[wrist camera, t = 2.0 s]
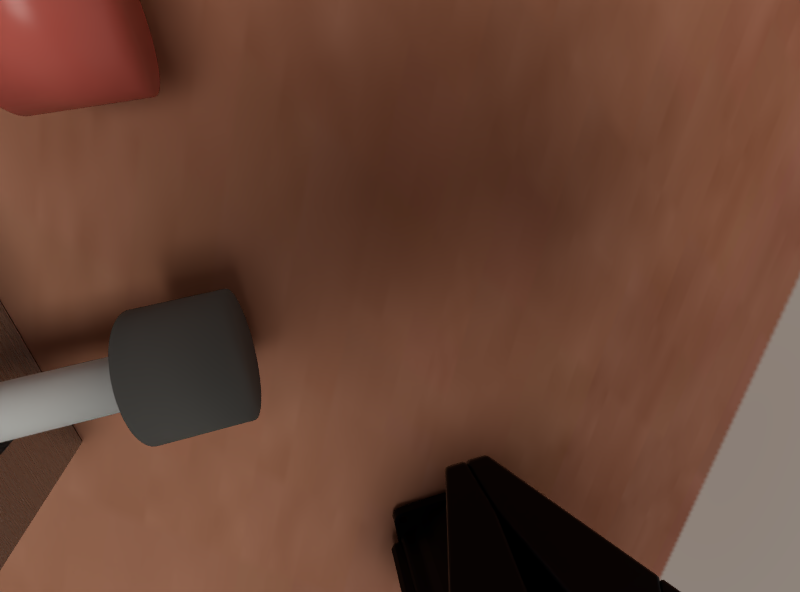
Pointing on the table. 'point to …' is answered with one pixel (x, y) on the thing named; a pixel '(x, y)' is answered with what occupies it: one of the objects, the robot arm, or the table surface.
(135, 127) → the table surface
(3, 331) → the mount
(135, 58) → the red knob
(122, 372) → the black knob
